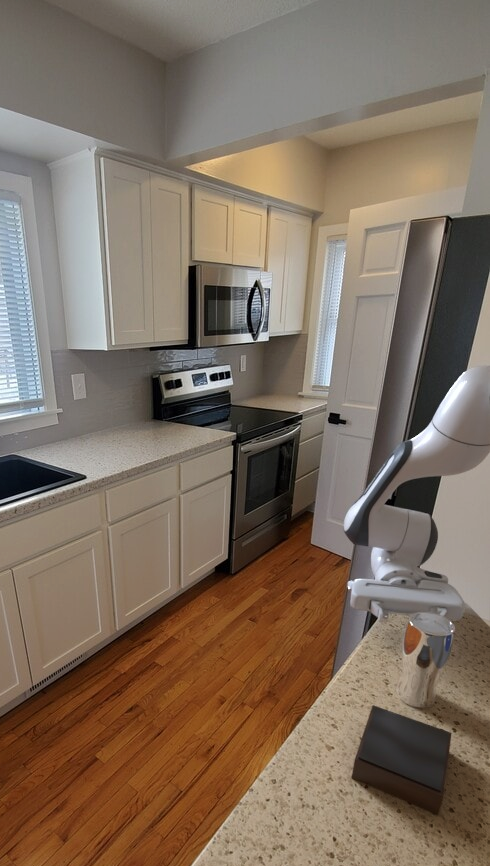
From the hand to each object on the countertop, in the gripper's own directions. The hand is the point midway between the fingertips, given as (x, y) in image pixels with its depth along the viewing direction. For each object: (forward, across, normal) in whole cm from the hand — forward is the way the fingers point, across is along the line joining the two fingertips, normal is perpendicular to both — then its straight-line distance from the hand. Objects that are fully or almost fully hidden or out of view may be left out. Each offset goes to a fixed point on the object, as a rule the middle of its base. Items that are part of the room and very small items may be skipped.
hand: (411, 622), depth 90 cm
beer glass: (+11, 0, +8) cm, 13 cm away
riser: (+26, -5, +8) cm, 28 cm away
